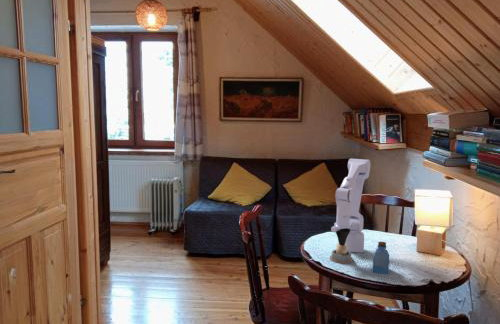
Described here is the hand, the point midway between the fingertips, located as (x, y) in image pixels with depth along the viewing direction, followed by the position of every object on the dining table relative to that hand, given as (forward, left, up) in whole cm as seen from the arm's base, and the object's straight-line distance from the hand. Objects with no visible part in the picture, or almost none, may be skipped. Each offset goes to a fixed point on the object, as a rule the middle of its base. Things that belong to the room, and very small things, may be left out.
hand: (341, 244), depth 182 cm
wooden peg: (0, 0, -6) cm, 6 cm away
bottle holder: (0, 0, -7) cm, 7 cm away
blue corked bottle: (-14, +12, -7) cm, 20 cm away
